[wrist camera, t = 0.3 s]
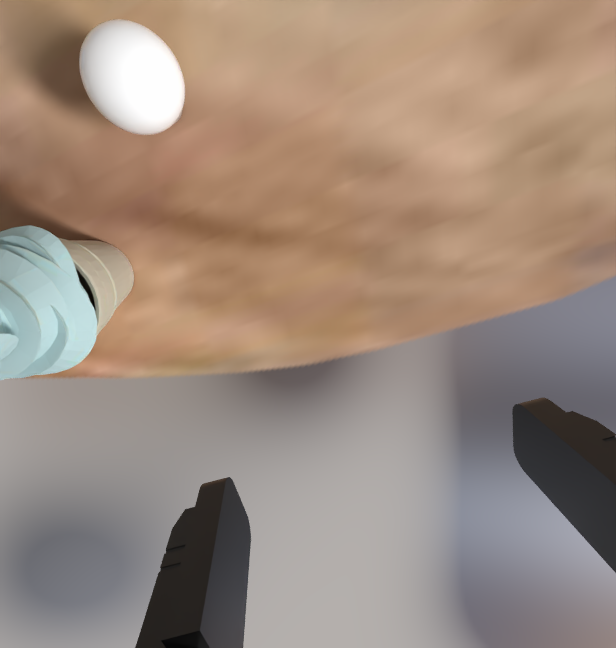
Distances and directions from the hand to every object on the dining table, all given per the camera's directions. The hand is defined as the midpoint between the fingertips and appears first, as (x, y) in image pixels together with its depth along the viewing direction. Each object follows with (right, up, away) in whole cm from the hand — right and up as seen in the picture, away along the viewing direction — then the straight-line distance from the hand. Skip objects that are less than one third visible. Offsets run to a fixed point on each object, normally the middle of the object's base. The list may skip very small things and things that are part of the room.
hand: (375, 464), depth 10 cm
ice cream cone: (-23, +9, +26) cm, 35 cm away
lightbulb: (-14, +23, +21) cm, 34 cm away
